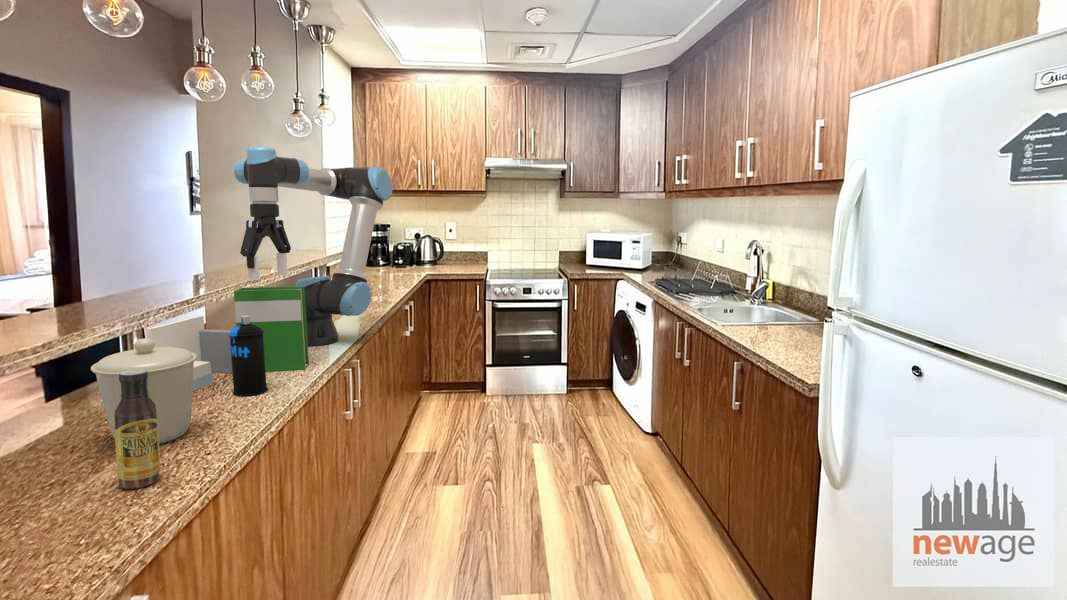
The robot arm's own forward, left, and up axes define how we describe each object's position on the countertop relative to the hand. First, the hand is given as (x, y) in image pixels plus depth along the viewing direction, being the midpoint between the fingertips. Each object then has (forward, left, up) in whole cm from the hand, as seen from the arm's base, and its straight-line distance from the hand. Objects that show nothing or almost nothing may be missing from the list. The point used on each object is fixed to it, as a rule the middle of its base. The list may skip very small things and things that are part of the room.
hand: (268, 277), depth 171 cm
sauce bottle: (+71, +21, -27) cm, 79 cm away
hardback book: (0, 0, -28) cm, 28 cm away
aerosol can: (+21, +7, -27) cm, 35 cm away
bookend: (+5, -13, -27) cm, 31 cm away
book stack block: (+20, -13, -27) cm, 36 cm away
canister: (+53, +7, -28) cm, 60 cm away
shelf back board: (+14, -19, -27) cm, 36 cm away
